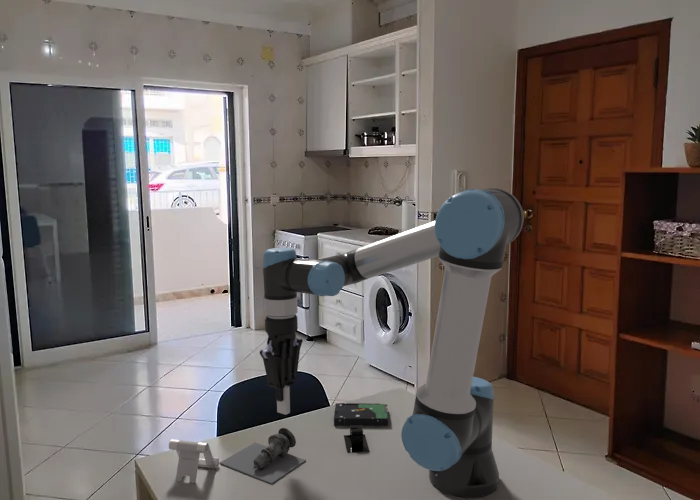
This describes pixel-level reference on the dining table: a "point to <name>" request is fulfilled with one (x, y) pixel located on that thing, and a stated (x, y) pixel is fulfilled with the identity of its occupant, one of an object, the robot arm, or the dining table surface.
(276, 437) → the dark grey turned piece
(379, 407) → the disk drive
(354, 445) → the black boxy piece
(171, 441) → the portable electronic device stand
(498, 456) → the dining table surface
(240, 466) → the mat
